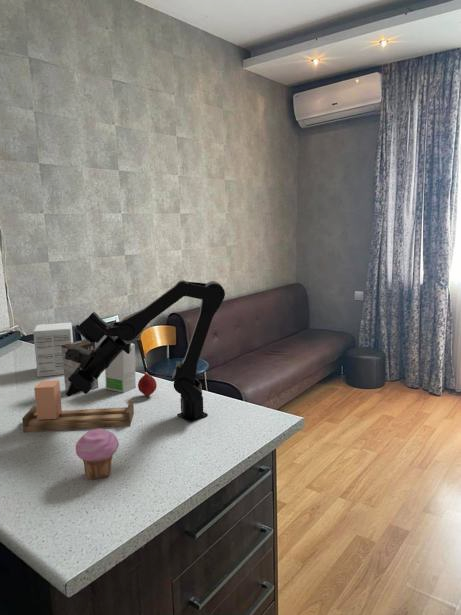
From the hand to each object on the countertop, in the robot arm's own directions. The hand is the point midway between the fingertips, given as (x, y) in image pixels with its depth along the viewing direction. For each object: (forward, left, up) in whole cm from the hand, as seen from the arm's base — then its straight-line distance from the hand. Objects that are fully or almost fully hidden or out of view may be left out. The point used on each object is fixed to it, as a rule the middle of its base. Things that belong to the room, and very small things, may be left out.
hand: (67, 395), depth 124 cm
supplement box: (+52, -18, -8) cm, 56 cm away
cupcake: (-31, +7, -8) cm, 33 cm away
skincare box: (+15, -25, -8) cm, 30 cm away
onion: (+2, -27, -8) cm, 28 cm away
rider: (+3, +4, -6) cm, 8 cm away
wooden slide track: (-2, -3, -8) cm, 9 cm away
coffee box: (+24, -15, -8) cm, 29 cm away
